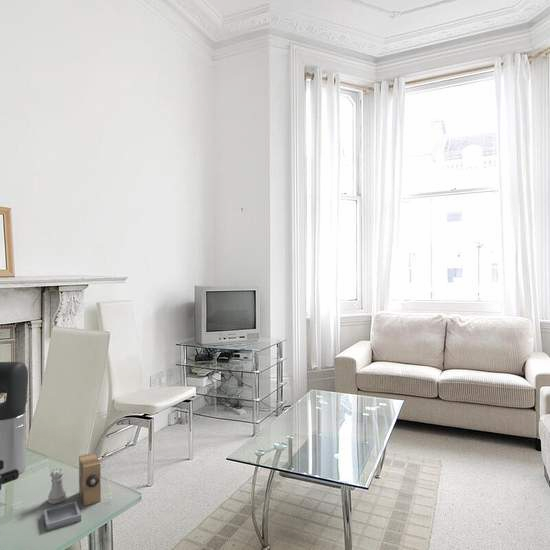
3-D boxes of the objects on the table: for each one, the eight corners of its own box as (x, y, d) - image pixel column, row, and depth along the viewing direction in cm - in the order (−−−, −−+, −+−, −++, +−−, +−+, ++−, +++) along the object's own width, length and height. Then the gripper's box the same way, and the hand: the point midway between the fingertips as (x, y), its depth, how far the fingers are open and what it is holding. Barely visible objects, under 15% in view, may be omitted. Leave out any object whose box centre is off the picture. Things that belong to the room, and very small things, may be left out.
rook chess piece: (70, 499, 113) (69, 469, 113) (53, 506, 110) (53, 475, 110) (60, 494, 116) (60, 464, 116) (44, 501, 112) (44, 471, 112)
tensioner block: (79, 492, 117) (78, 456, 117) (94, 488, 119) (94, 452, 119) (84, 507, 109) (84, 468, 109) (101, 502, 111) (101, 464, 111)
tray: (43, 515, 106) (43, 509, 106) (76, 506, 110) (76, 501, 110) (46, 531, 99) (46, 524, 99) (81, 520, 103) (81, 514, 103)
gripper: (-63, 488, 86) (23, 460, 99) (-84, 469, 95) (-2, 446, 108) (-63, 525, 86) (23, 492, 99) (-84, 503, 95) (-2, 476, 108)
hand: (10, 468), depth 104 cm, fingers open, 8 cm apart
